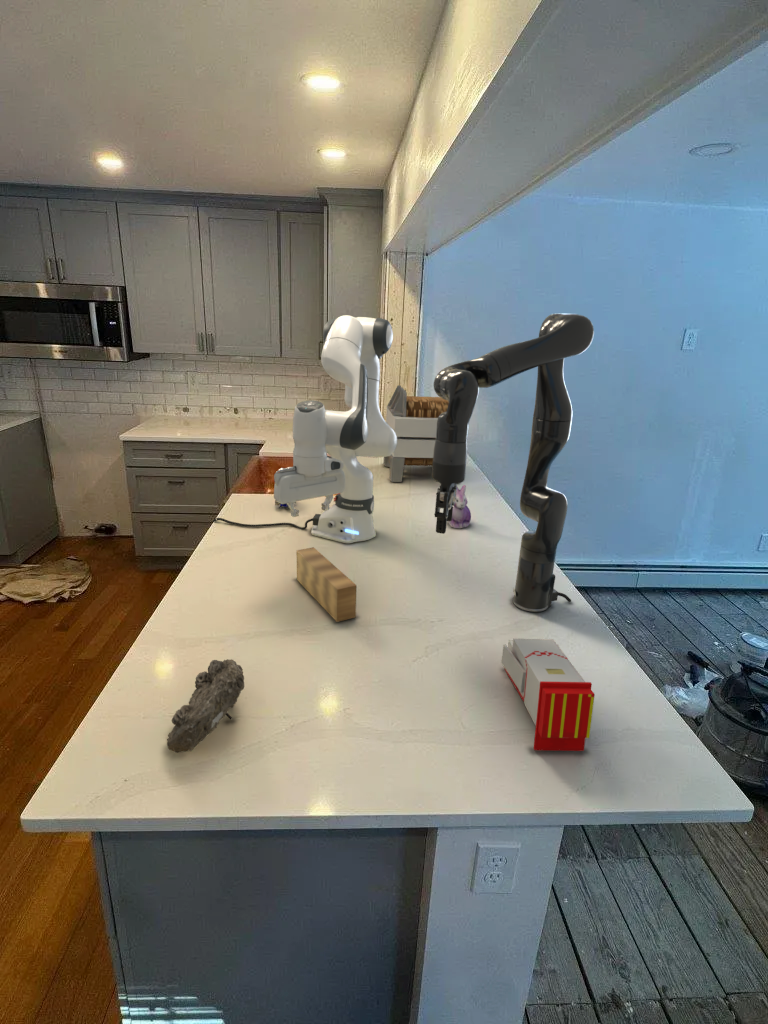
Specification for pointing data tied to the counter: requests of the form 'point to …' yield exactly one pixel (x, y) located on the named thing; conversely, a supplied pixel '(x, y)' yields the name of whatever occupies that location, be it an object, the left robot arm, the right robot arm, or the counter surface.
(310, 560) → the bar
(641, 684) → the counter surface
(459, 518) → the figurine
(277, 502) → the figurine character
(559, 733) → the toy
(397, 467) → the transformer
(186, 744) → the fossil
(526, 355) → the right robot arm
